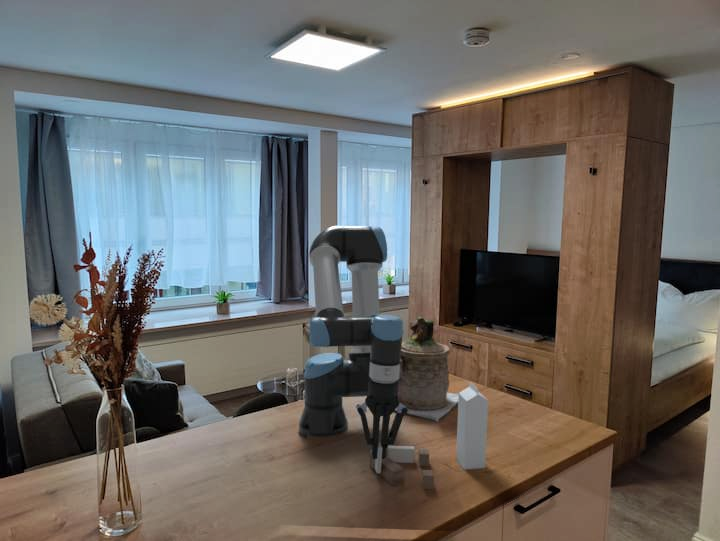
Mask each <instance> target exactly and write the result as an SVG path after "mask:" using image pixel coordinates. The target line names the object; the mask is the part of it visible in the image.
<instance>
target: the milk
mask: <svg viewBox="0 0 720 541" xmlns="http://www.w3.org/2000/svg"><path fill="white" fill-rule="evenodd" d="M458 394H459V398H458V403H457V405H458V406H457V425H456V426H457V428H456V429H457V430H456V433H457V434H456V451H455V452H456V454H455V456H456V457H455V458H456V461H458V463H459V464H460V466H461V467H462V469H463V470H474V469H475V470H477V469H485V468H486V458H487V457H486V455H487V434H488V416H489V414H488V413H489V411H488V410H489V399H487V397H485V396H484V394H482V393H481V392H480V391H479V388H478V386H477V387H476V386H475V384H473V383H472V382H471V381H469V383H468V387H466V388H464V389H463V390H461V391H459V392H458Z"/></svg>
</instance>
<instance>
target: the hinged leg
mask: <svg viewBox="0 0 720 541" xmlns="http://www.w3.org/2000/svg"><path fill="white" fill-rule="evenodd" d="M369 467H370V468H371V469H372V470H374V471H375V472H376V470H375V459H373V457H372V449H370V450H369ZM378 474H379V475H380V476H381V477H382V478H383V479H385V480H386V481H387V482H389V483H390V484H391V485H392V486H397V485H399V484H402V483H403V484H404V478H405V468H404V467H402V466H401V465H400V464H399V463H398V462H394V461H393V460H391V459H390V458H389V457H388V455H386V457H385V459H382V460H381V473H378Z"/></svg>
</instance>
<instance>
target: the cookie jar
mask: <svg viewBox="0 0 720 541" xmlns="http://www.w3.org/2000/svg"><path fill="white" fill-rule="evenodd" d="M434 324H435V322H434V321H433V320H431V319H427V318H426V317H422V316H417V318H416V320H411V321H410V324H409V329H410V330H411V331H413V333H412V334H411V335H410V337H409V338H407V339H405V340H404V341H402V347H401V360H400V375H399V379H398V381H399V390H398V399H399V401H400V403H401V404H402V405H405V406H406V408H407V410H408V412H407V413H406V414H408V415H412V416H417V417H421V418H424V419H427V420H428V419H429V420H432V421H435V422H437V423H438V421H439V420H440V419H441V418H443V416H445V415H447V414H448V413H449V412H450V411H451V410H452V408H454V407H455V406H457V405H458V398H459V393H453V392H448V391H449V388H450V378H449V376H450V372H449V365H448V364H449V363H448V356H449V355H450V354H451V353H450V352H451V350H450V348H449V346H448V345H446V344H442V343H439V342H437V341H435V338H433V336H434V331H435V330H434V329H435V328H434ZM395 411H396V412H397V408H396V409H395ZM395 411H394V412H395Z"/></svg>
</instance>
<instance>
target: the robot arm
mask: <svg viewBox="0 0 720 541" xmlns="http://www.w3.org/2000/svg"><path fill="white" fill-rule="evenodd" d="M308 253H309V257H308V258H309V263H310V265H311V266H312V269H313V286H314V287H313V288H314V301H315V304H314V305H315V317H312V318H310V319H309V323H308V324H309V325H308V326H309V327H308V329H309V343H310V345H311V346H312V347H319V348H320V347H321V348H330V347H352V348H351V350H350V351H349V352H348V358H344V356H343V355H342V354H341V353H339V352H325V353H319V354H317V355H313V356H311V357H309V358H308V359H307V360H306V362H305V363H304V364H305V365H304V374H303V377H304V407H303V409H302V410H303V411H302V414H301V416H300V419H299V424H298V432H299V434H300V435H301V436H303V437H305V438H307V437H308V435H309V436H313V437H332V436H337V435H339V434H342V433H343V432H345V431H346V430H347V429H348V427H349V423H348V422H349V421H348V418H347V415H346V412H345V409H344V405H343V398H354V397H356V398H359V397H363V398H364V397H365V399H364V402H363V403H361V404H356V406H355V408H356V410H357V413H358V414H359V416H360V419H361V424H362V429H363V434H364V438H365V442H366V445H367V446H371V450H372V457H373V459H375V470H376V471H375V470H374V471H375V473H376V474H379V473H381V460H382V459H385V457H386V456H387V449H388V446H394V444H395V442H396V439H397V436H398V433H399V431H400V429H401V428H400V427H401V424H402V422H403V419H404V417H405V416H406V414H407V412H408V410H407V408H406V406H405V405H402V404H401V403H400V401H399V399H398V390H399V381H398V379H399V375H400V360H401V347H402V343H403V335H404V329H403V328H404V327H403V326H404V320H403V319H402V318H400V316H396V315H391V314H380V294H379V292H380V291H379V289H380V288H379V271H380V270H381V269H382V268H383V263H384V262H386V261H387V259H388V242H387V239H386V235H385V232H384V230H383V229H382V228H381V227H379V226H374V225H371V226H370V225H333V226H330V227H327V228H325V229H324V230H323V231H321V232H320V233H319V234H318V235H317V236H316V237H315V239H313V241H312V243H311V246H310V249H309V252H308ZM343 262H344V263H346V269H347V270H348V271H350V273H351V299H352V301H351V302H352V304H351V305H352V316H345V314H344V304H343V297H342V288H341V281H340V279H341V278H340V271H339V270H340V269H339V263H343ZM367 408H368V410H369V411H370V413H371V415H372V417H373V418H372V436H371V433H370V428H369V423H368V419H367V418H368V417H367V415H366V413H367V411H368V410H367ZM396 408H397V411H396V413H395V415H394V419H393V422H392V425H391V426H390V422H391V421H390V420H391V415H393V413H394V412H395V409H396ZM381 417H382V422H380V421H381ZM380 423H381V431H380ZM390 427H391V428H390ZM389 428H390V430H389ZM380 432H381V433H380ZM379 439H380V440H379ZM379 441H380V442H379Z"/></svg>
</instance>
